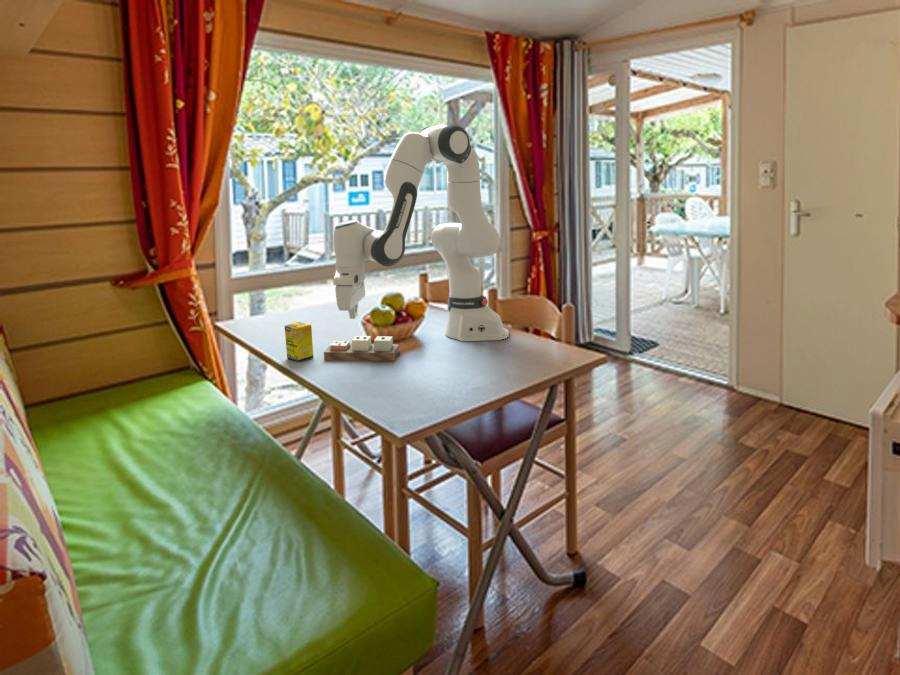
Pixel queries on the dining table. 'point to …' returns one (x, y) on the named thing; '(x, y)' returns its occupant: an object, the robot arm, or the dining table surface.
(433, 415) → the dining table surface
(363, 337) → the two pip tile
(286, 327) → the supplement box
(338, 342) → the three pip tile
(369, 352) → the button board
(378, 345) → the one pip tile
